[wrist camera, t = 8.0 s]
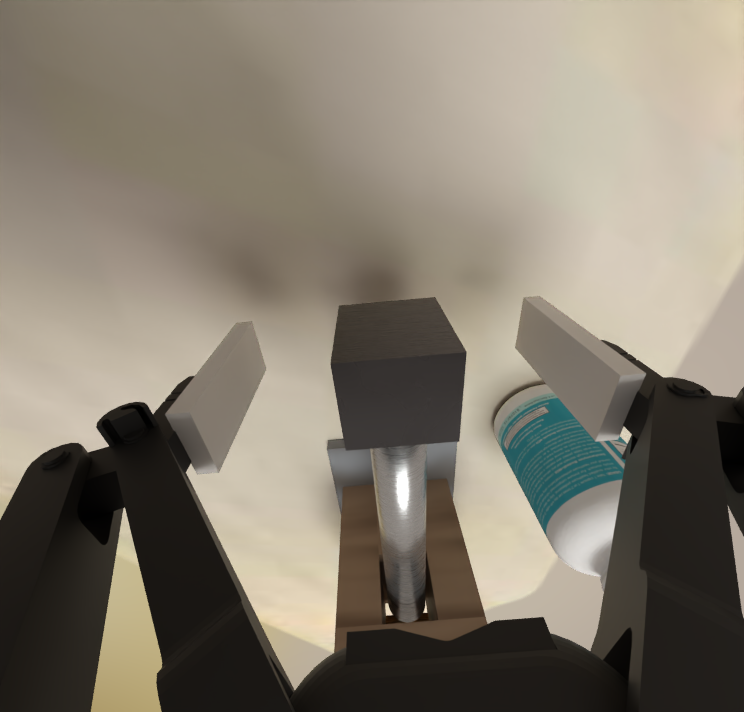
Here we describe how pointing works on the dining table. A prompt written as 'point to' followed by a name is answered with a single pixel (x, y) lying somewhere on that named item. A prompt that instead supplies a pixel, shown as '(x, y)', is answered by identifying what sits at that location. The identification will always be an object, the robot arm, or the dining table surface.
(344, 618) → the bearing block
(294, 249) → the dining table surface
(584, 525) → the pill bottle
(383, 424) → the shaft
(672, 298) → the dining table surface
